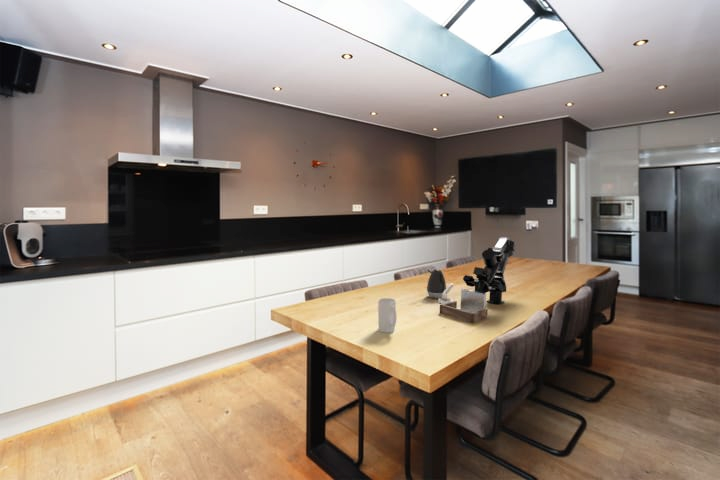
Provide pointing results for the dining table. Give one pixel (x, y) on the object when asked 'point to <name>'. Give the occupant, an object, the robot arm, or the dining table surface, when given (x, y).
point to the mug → (386, 315)
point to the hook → (445, 295)
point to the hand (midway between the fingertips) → (474, 297)
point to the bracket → (472, 301)
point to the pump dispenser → (436, 284)
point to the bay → (462, 313)
